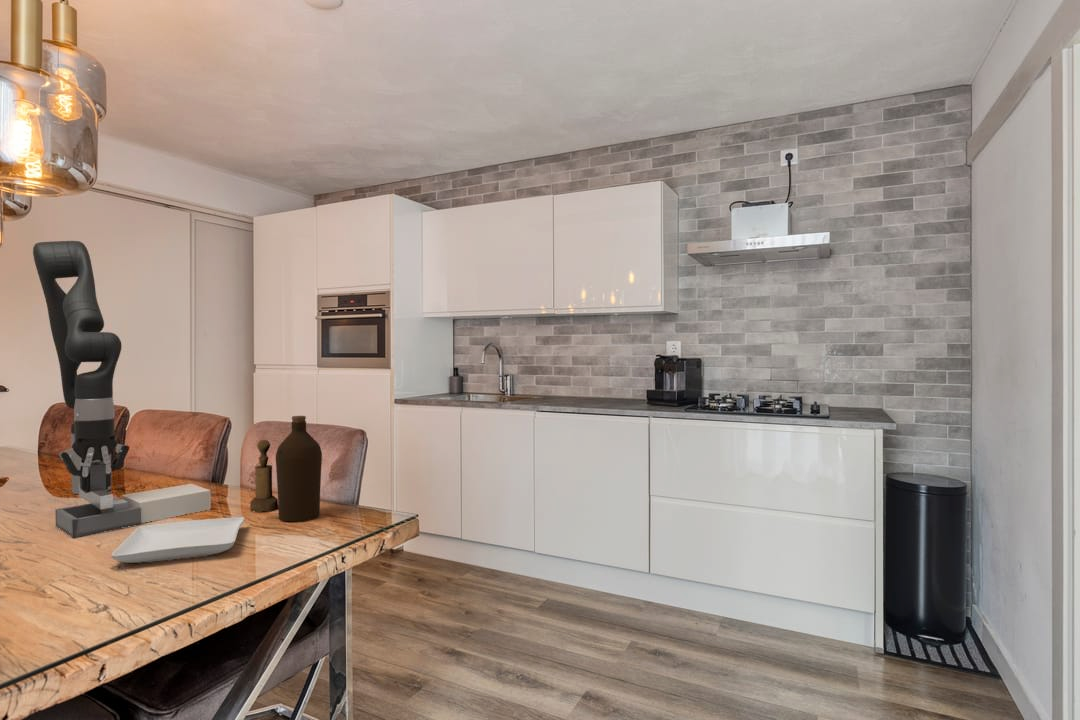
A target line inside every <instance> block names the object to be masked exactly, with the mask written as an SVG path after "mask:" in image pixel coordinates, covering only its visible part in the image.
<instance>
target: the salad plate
mask: <svg viewBox="0 0 1080 720" xmlns="http://www.w3.org/2000/svg"><path fill="white" fill-rule="evenodd" d="M244 521H245V517H244V516H236V517H223V518H221V517H220V518H209V519H208V518H207V519H204V518H203V519H193V520H186V521H183V520H182V521H175V522H166V523H158V524H157V523H156V524H148V525H147V524H145V525H139V526H138V527H137V528H136V529H135V530H133V532H132V533H130V534H129V536H128V537H127V538H125V540H124V541H123V542H122V543H121V544H120V545H119V546H118V547H116V549H115V550H114V551H113V552H112V553H111V554H110V557H111V558H112V559H113V560H115V561H118V562H121V563H127V564H128V563H131V564H132V563H133V564H134V563H135V564H142V563H141V562H149V563H153V562H152V561H159V562H162V561H161V560H168V561H172V560H171V559H177V560H180V559H179V558H186V559H190V558H189V557H194V558H199V557H198V556H203V557H208V556H207V555H210V556H214V555H213V554H215V555H217V554H220V553H223V552H226V551H228V550H230V549H231V548H232V547H233V546H234V544H235V543H236V540H237V537H238V532H239V530H240V529H241V526H242V525H243V524H244Z"/></svg>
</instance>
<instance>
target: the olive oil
mask: <svg viewBox="0 0 1080 720" xmlns="http://www.w3.org/2000/svg"><path fill="white" fill-rule="evenodd" d="M306 419H307V416H306V415H294V416H292V417H291V420H292V421H291V431H290V433H289V435H287V437H285V439H283V441H281V443H279V446H278V447H277V450H276V453H275V468H276V469H275V472H276V486H277V488H276V489H277V499H278V508H277V510H278V520H279V521H281V520H283V521H282V522H284V521H301V522H306V521H305V520H307V521H310V520H309V519H312V520H314V519H313V518H315V519H316V517H317V518H318V517H319V516H320V515H321V514H320V513H321V508H320V507H321V484H322V483H321V481H322V465H323V464H322V463H323V453H322V452H323V451H322V448H321V446H320V444H319V442H318V441H317V440H316V439H315V438H314V437H312V436H311V435H310V433H308V432H307V421H306Z"/></svg>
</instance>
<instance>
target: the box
mask: <svg viewBox="0 0 1080 720" xmlns="http://www.w3.org/2000/svg"><path fill="white" fill-rule="evenodd" d="M119 498H120V497H119ZM120 499H122V497H121V498H120ZM140 524H141V508H140V507H138V508H132V509H126V510H121V511H115V512H110V513H104V514H101V509H99V508H97V507H96V506H94V505H92V504H91V503H85V504H78V505H75V506H74V505H73V506H68V507H62V508H55V527H56V526H57V527H58V528H57V527H56V528H57V529H59V528H60V529H61V530H60V529H59V530H60V531H62V530H63V531H64V533H65V532H66V533H67V534H66V533H65V534H66V535H68V536H69V535H70V536H71V537H70V536H69V537H70V538H71V539H77V538H76V537H78V538H82V537H87V536H92V535H96V533H97V534H102V533H105V532H104V531H107V532H110V531H109V530H112V531H115V530H114V529H117V530H119V529H118V528H122V527H127V528H129V527H128V526H132V527H135V526H134V525H137V526H141V525H142V524H141V525H140ZM122 529H123V528H122ZM63 531H62V532H63ZM101 532H102V533H101ZM91 534H92V535H91ZM81 536H82V537H81Z"/></svg>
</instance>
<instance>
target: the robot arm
mask: <svg viewBox="0 0 1080 720" xmlns="http://www.w3.org/2000/svg"><path fill="white" fill-rule="evenodd" d="M32 249H33V250H32V255H33V262H34V264H35V268H36V271H37V274H38V278H39V281H40V285H41V288H42V292H43V296H44V299H45V302H46V308H47V314H48V318H49V319H48V321H49V325H50V331H51V335H52V340H53V343H54V347H55V350H56V355H57V359H58V363H59V369H60V378H61V387H62V395H63V400H64V402H65V405H66V407H68V408H69V409H72V410H73V412H74V413H73V419H74V421H73V423H72V424H71V426H70V445H71V446H70V448H68V449H66V450H64V451H63V450H62V451H59V452H58V456H59V458H60V460H61V461H62V463H63V465H64V466H65V468H66V469H67V471H68V473H69V474H70V475H71V494H73V495H79V484H80V489H81V490H82V491H84V492H85V493H89V492H90V491H89V477H88V474H89V467H90V466H91V463H92V462H101V463H103V464H106V489H105V490H106V491H109V490H112V473H113V472H115V471H117V470H120V469H121V467H122V464H123V463H124V461H125V458H126V457H127V455H128V452H129V450H130V446H129V445H127V444H121V443H118V442H117V440H116V438H115V434H116V433H115V430H116V429H115V416H116V413H115V405H114V396H113V394H114V392H113V391H114V388H113V387H114V385H113V384H114V383H113V382H114V381H113V380H114V375H115V372H116V371H115V370H116V368H117V364H118V361H119V358H120V356H121V353H122V352H121V351H122V341H121V339H120V337H119V336H118V335H117V334H115V332H114V333H113V332H109V331H108V332H107V331H102V330H103V329H104V328H105V327H104V326H105V320H104V318H103V314H102V312H101V308H100V306H99V305H100V304H99V303H98V298H97V293H96V292H97V291H96V284H95V283H96V282H95V277H94V271H93V265H92V261H91V258H90V257H91V255H90V254H89V250H88V249H87V246H86V245H85V244H84V243H83V242H82V241H80V240H58V241H57V240H56V241H39V242H37V243H35V244H34V245H33V248H32ZM66 278H67V279H68V278H77V279H76V280H75V282H74V284H73V285H72V286H71V288H70V289H69V291H68V292H67V293H66V292H65V291H64V290H63V289H62V287H61V286H60V285H59V284H58V281H57V280H58V279H66ZM56 279H57V280H56ZM82 363H100V365H99V366H98V368H96V369H95V370H92V371H88V372H82V373H79V374H78V371H79V370H78V369H79V368H80V366H81V364H82ZM114 450H115V452H116V454H115V457H114V459H113V460H112V452H113V451H114Z"/></svg>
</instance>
